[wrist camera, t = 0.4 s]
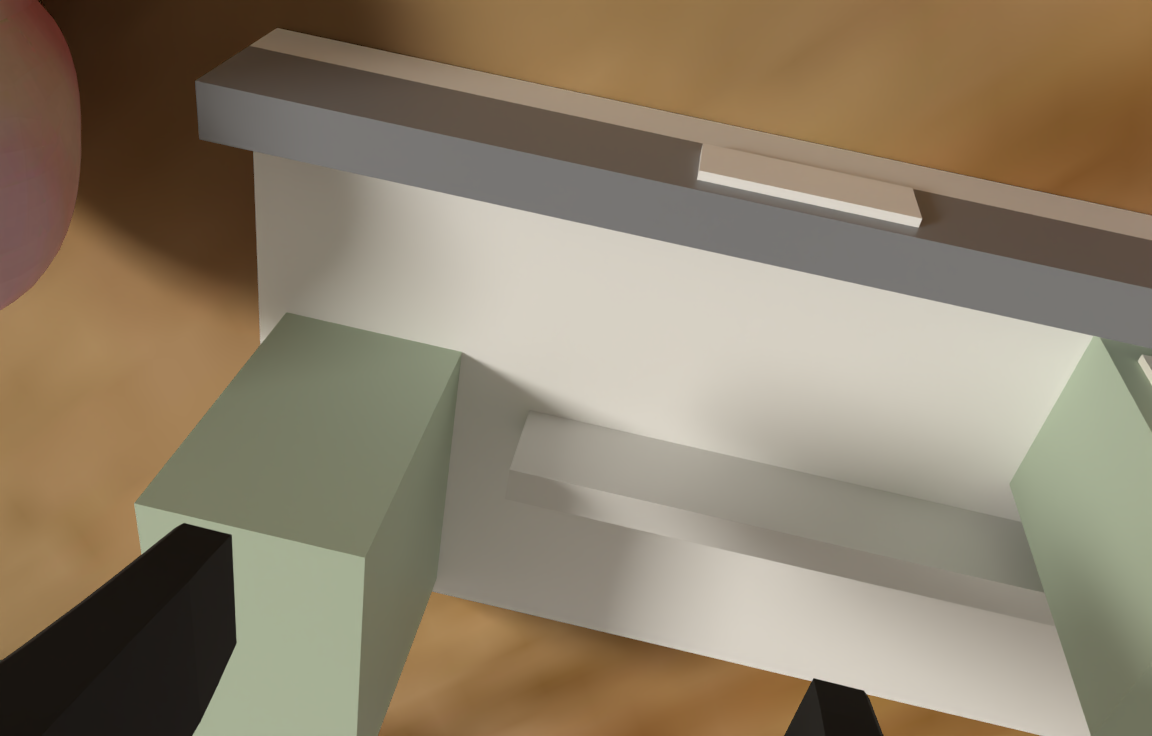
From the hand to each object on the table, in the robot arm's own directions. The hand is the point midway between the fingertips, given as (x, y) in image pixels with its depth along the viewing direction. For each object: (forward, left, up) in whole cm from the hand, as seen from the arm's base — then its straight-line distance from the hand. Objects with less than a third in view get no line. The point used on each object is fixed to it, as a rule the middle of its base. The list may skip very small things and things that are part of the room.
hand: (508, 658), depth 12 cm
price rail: (+3, -5, -9) cm, 10 cm away
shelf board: (-3, -5, -10) cm, 11 cm away
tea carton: (-5, +5, -9) cm, 11 cm away
